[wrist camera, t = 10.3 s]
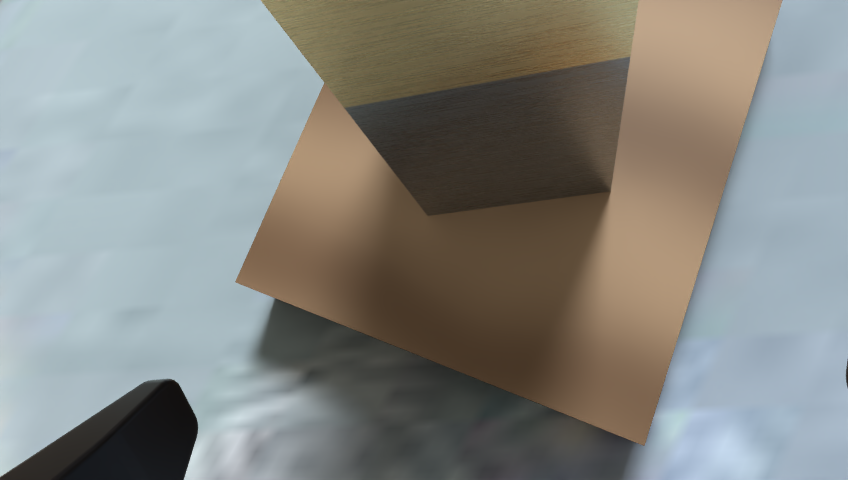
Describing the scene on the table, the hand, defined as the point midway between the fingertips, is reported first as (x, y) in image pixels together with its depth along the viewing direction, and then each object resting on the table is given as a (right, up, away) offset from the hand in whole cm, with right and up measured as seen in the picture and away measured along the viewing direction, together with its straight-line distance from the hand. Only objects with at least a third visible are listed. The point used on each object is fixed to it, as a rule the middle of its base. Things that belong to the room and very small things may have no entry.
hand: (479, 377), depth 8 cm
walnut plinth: (+2, +5, +11) cm, 13 cm away
